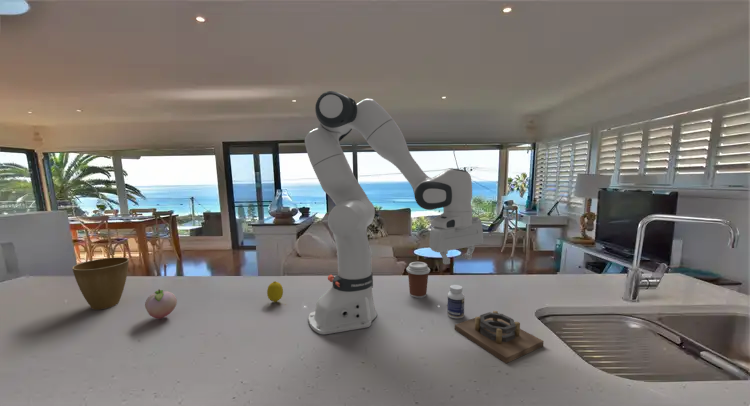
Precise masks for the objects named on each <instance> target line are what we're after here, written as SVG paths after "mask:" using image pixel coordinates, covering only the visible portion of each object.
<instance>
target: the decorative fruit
mask: <svg viewBox="0 0 750 406" xmlns="http://www.w3.org/2000/svg"><path fill="white" fill-rule="evenodd" d="M177 304H178V301H177V297H176V296H175V294H174V293H173V292H171V291H166V290H162V289H158V290H156V291H154V293H152V294H150V295H149V296H148V297H147V298H146V300H145V302H144V307H145V310H146V312H147V313H148V315H149V316H150V317H152V318H153V319H159V320H162V319H164V318H166V317H167V316H169V315H170V314H172V312H173V311H174V310H175V309H176V306H177Z"/></svg>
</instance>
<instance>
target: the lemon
mask: <svg viewBox="0 0 750 406" xmlns="http://www.w3.org/2000/svg"><path fill="white" fill-rule="evenodd" d="M266 294H267V298H268V300H269V301H271V302H273V303H277V302H278V301H280V299H282V297H283V295H284V289H283V286H282V284H281V283H280V282H279V281H272V282H271V283H270V284H269V285H268V286H267V290H266Z"/></svg>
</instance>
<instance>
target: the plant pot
mask: <svg viewBox="0 0 750 406" xmlns="http://www.w3.org/2000/svg"><path fill="white" fill-rule="evenodd" d="M129 260H130V259H129V258H128V257H117V256H115V257H107V258H106V257H105V258H98V259H92V260H88V261H84V262H80V263H78V264H75V265H73V266H72V268H71V269H72V272H73V276H74V278H75V282H76V283H77V284H76V285H78V288H79V291H80V292H81V294H82V296H83V298H84V300H85V301H86V303H87V304H88V305H89V307H90V308H91V309H92V310H95V311H96V310H99V311H100V310H104V309H105V310H106V309H109V308H112V307H114V305H115V306H116V304H117V305H118V304H119V303H120V301H121V298H122V296H123V292H124V288H125V286H126V282H127V277H128V270H129V262H130V261H129Z"/></svg>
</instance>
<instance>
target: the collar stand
mask: <svg viewBox="0 0 750 406" xmlns="http://www.w3.org/2000/svg"><path fill="white" fill-rule="evenodd" d="M454 330H455V331H457V332H458V333H459V334H461V335H462V336H463V337H465V338H467V339H469V340H470V341H472V342H473V343H475V344H476V345H477V346H479V347H481V349H484V351H486V352H488V353H489V354H491V355H493V356H494V357H495V358H497V359H498V360H500V361H502V362H503V363H505V364H507V363H510V362H512V361H514V360H516V359H519V358H521V357H523V356H525V355H527V354H530V353H532V352H533V351H536V350H538V349H540V348H542V347H544V340H543V339H540V338H539V337H538V336H535V335H533V334H531V333H529V332H527V331H526V330H523V329H521V322H519V321H515V320H514V319H513V318H511V317H510V316H507V315H505V314H504V313H500V312H498V311H497V310H493V311H489V312H485V313H482V314H480V315H479V316H475V317H473V318H471V319H467V320H465V321H462V322H459V323H455V324H454Z"/></svg>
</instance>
